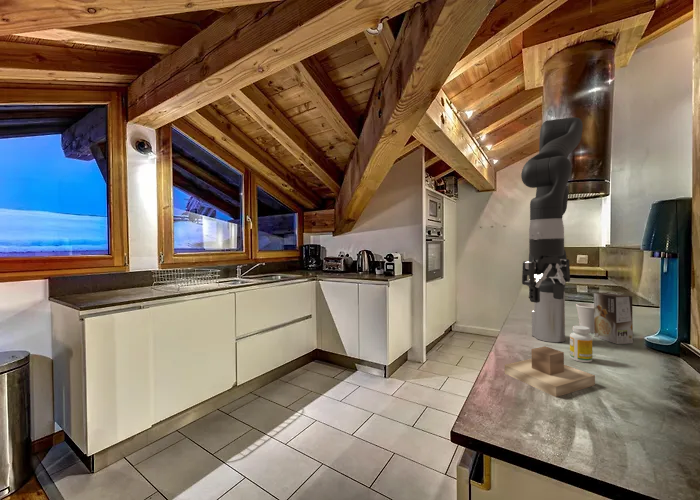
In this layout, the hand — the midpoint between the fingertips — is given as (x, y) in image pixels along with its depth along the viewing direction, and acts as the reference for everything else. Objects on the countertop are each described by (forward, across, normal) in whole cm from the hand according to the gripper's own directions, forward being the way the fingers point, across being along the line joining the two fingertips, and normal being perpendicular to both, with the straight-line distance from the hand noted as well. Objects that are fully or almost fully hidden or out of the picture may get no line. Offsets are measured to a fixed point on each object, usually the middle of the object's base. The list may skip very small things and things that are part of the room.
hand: (546, 300), depth 79 cm
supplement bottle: (+20, -21, -5) cm, 30 cm away
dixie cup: (+21, -53, -22) cm, 61 cm away
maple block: (+21, 0, 0) cm, 21 cm away
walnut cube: (+18, 0, 0) cm, 18 cm away
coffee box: (+21, -49, -12) cm, 54 cm away
